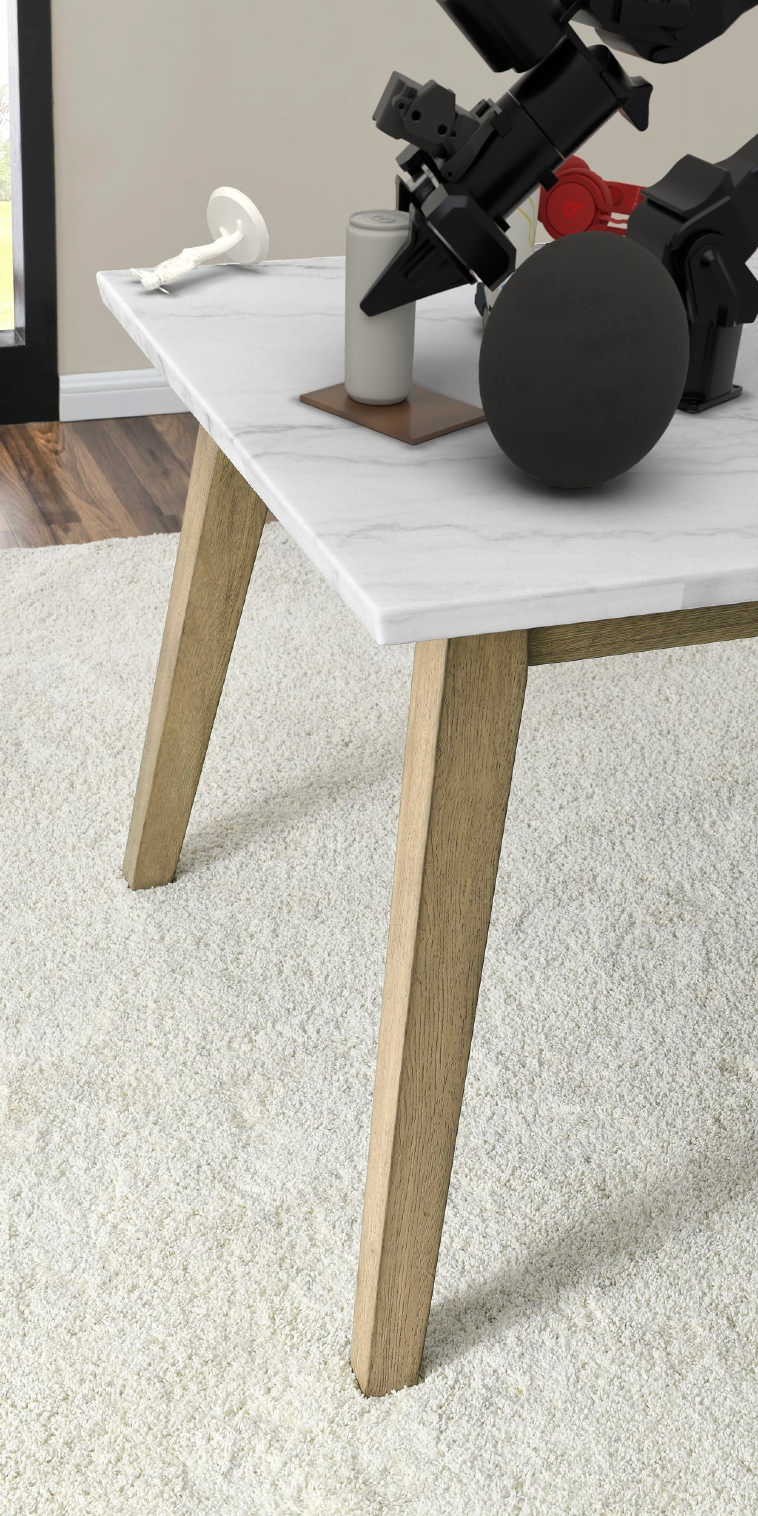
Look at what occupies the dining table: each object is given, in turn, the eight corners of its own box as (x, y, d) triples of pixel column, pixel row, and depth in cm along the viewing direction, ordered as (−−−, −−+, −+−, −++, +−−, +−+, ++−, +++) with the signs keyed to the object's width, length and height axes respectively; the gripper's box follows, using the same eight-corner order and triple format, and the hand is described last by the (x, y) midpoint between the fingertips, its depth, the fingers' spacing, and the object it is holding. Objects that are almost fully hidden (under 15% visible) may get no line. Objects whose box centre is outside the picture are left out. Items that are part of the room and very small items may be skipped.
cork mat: (492, 417, 97) (493, 412, 97) (413, 445, 92) (413, 439, 92) (378, 377, 103) (379, 371, 103) (299, 400, 99) (299, 394, 98)
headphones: (530, 141, 144) (715, 175, 147) (514, 213, 148) (695, 244, 151) (556, 170, 131) (757, 206, 135) (538, 248, 135) (734, 281, 138)
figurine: (245, 179, 120) (148, 243, 114) (281, 259, 123) (188, 324, 118) (195, 193, 125) (100, 255, 119) (231, 269, 129) (140, 332, 123)
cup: (536, 271, 130) (550, 131, 124) (448, 267, 130) (457, 127, 124) (530, 249, 137) (543, 115, 130) (446, 245, 137) (455, 111, 130)
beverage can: (372, 412, 96) (378, 229, 89) (329, 392, 99) (331, 214, 92) (425, 398, 99) (434, 219, 92) (381, 379, 102) (387, 205, 95)
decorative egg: (486, 435, 94) (507, 200, 86) (672, 458, 92) (712, 219, 84) (453, 506, 84) (473, 247, 76) (661, 533, 82) (704, 271, 74)
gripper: (434, 7, 94) (270, 180, 99) (477, 45, 79) (280, 247, 84) (538, 136, 99) (377, 294, 104) (598, 195, 84) (406, 377, 89)
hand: (360, 300), depth 95 cm, fingers closed on beverage can, 5 cm apart
